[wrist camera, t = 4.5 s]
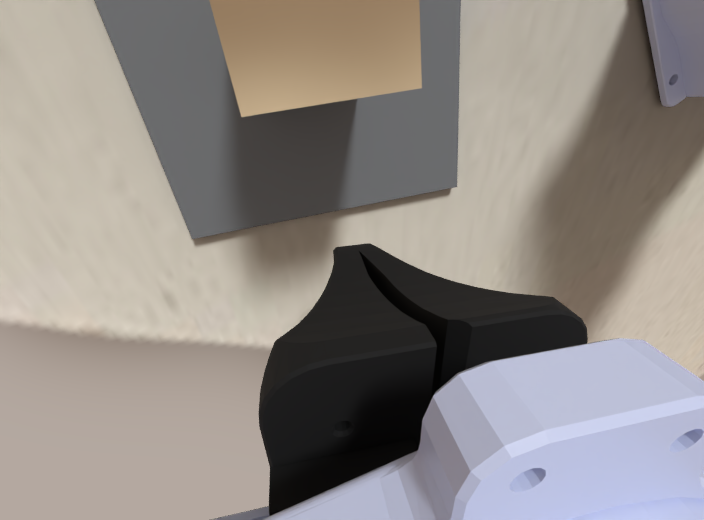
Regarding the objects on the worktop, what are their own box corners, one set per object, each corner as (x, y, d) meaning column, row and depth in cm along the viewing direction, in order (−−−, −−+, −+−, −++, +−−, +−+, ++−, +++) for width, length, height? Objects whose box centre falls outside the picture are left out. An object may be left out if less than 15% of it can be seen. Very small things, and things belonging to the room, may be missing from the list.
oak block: (358, 90, 15) (421, 87, 8) (260, 106, 14) (241, 117, 8) (343, -38, 12) (414, -184, 6) (227, -25, 12) (162, -168, 5)
